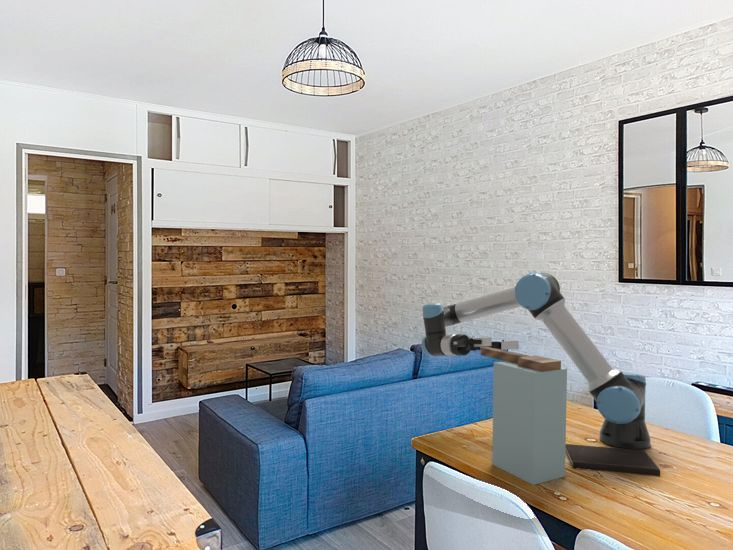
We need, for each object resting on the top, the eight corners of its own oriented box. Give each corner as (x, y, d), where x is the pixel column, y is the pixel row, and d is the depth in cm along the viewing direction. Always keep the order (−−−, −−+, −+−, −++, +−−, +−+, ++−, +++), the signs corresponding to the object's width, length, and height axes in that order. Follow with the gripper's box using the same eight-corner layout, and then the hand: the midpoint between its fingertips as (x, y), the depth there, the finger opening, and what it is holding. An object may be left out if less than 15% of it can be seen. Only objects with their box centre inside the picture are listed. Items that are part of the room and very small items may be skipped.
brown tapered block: (475, 355, 165) (475, 348, 165) (492, 353, 168) (492, 346, 168) (542, 371, 141) (542, 362, 141) (560, 369, 145) (561, 360, 145)
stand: (492, 464, 155) (493, 362, 154) (522, 457, 161) (524, 359, 160) (533, 484, 141) (535, 372, 140) (564, 476, 147) (567, 368, 146)
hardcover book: (564, 450, 169) (564, 443, 168) (643, 457, 164) (643, 450, 163) (572, 470, 153) (573, 462, 153) (660, 477, 148) (660, 469, 148)
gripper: (480, 357, 196) (528, 357, 179) (430, 353, 181) (478, 352, 165) (480, 337, 197) (528, 335, 181) (431, 331, 183) (478, 328, 166)
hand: (504, 343), depth 172 cm, fingers open, 13 cm apart
